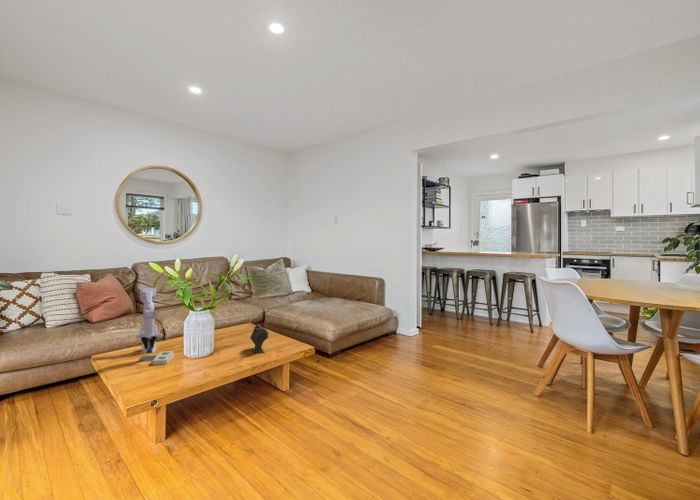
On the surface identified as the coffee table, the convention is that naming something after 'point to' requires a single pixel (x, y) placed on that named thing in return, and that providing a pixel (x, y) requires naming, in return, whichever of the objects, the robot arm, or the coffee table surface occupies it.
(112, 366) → the coffee table surface
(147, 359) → the rubber mat
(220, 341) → the coffee table surface
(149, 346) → the steel peg
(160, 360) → the socket block
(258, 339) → the dark grey faceted sculpture
